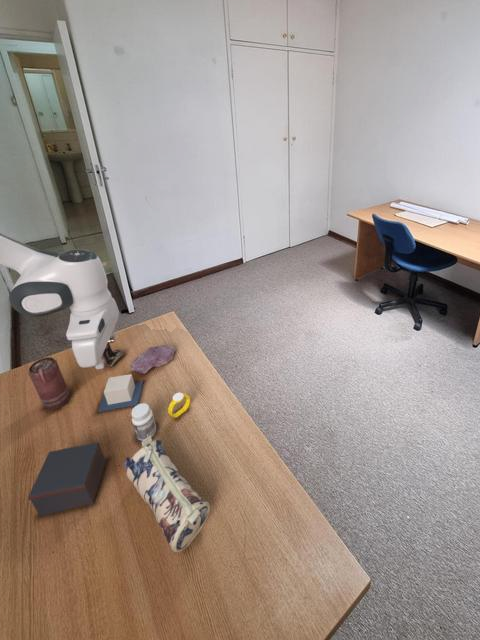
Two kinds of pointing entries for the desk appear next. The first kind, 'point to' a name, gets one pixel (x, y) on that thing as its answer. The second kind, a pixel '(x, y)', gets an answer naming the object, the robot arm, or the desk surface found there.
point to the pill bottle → (143, 421)
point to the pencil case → (167, 494)
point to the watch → (176, 399)
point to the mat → (133, 402)
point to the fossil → (152, 358)
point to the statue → (112, 356)
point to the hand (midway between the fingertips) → (106, 353)
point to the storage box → (68, 479)
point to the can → (49, 383)
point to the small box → (119, 389)
